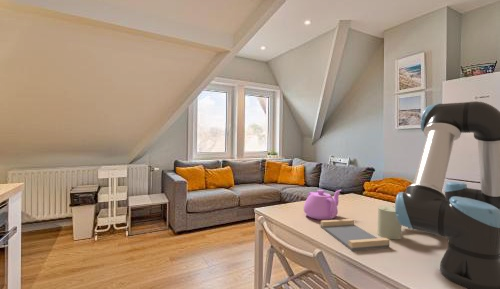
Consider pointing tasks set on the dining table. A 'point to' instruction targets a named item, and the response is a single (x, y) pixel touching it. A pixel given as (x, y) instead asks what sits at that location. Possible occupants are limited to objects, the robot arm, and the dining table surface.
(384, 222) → the can
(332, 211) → the teapot
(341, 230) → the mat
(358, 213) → the dining table surface
